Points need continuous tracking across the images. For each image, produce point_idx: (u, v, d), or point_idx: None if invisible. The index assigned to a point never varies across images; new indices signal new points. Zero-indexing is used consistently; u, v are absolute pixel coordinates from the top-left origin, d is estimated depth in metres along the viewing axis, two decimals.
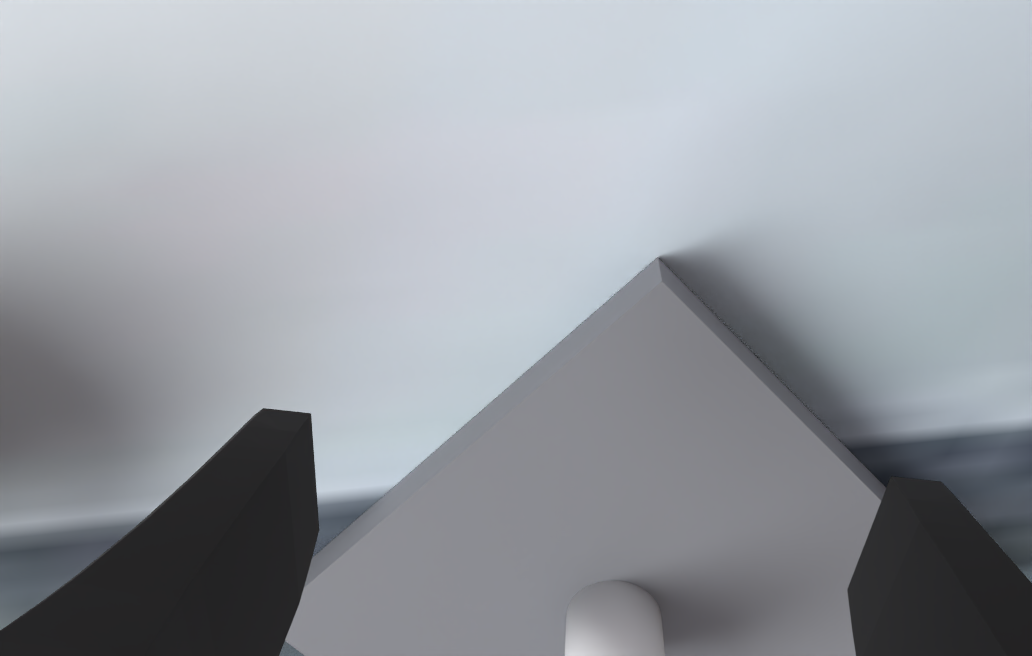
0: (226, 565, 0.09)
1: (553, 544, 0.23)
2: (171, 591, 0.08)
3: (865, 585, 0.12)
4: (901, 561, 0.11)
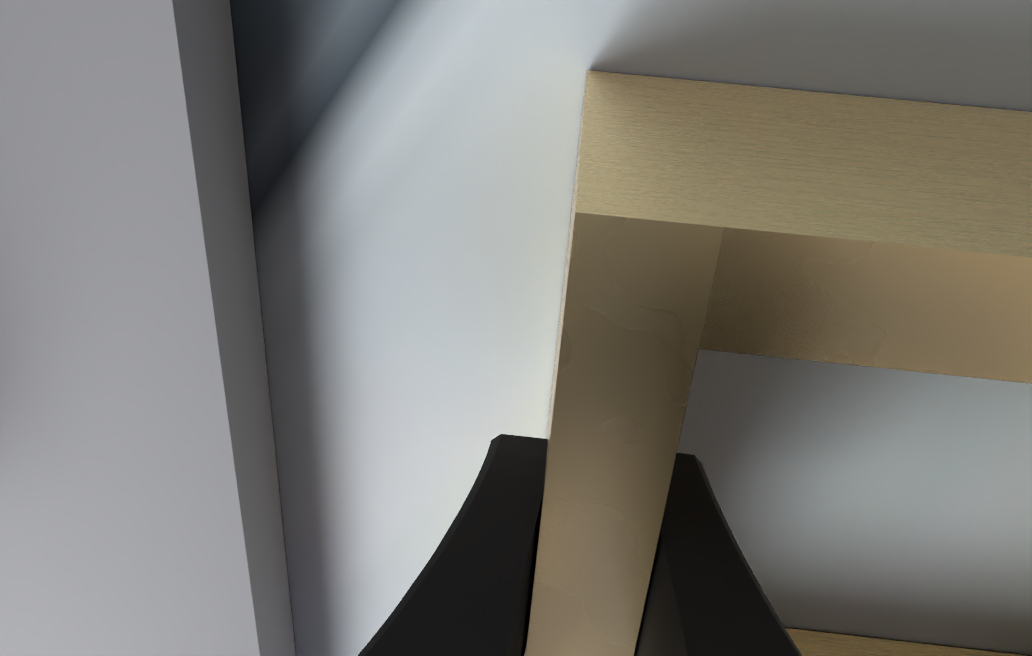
0: (521, 599, 0.09)
1: None
2: (499, 629, 0.08)
3: None
4: None
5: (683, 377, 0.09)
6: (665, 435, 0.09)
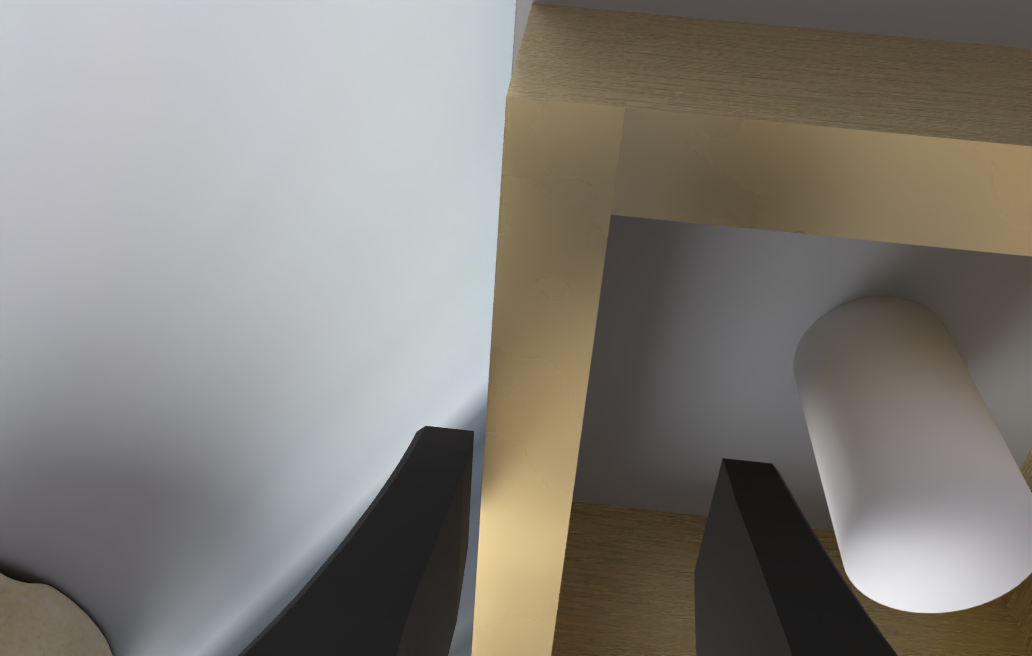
0: (427, 588, 0.09)
1: (708, 318, 0.15)
2: (394, 617, 0.08)
3: (704, 567, 0.12)
4: (724, 541, 0.11)
5: (600, 240, 0.10)
6: (588, 293, 0.11)
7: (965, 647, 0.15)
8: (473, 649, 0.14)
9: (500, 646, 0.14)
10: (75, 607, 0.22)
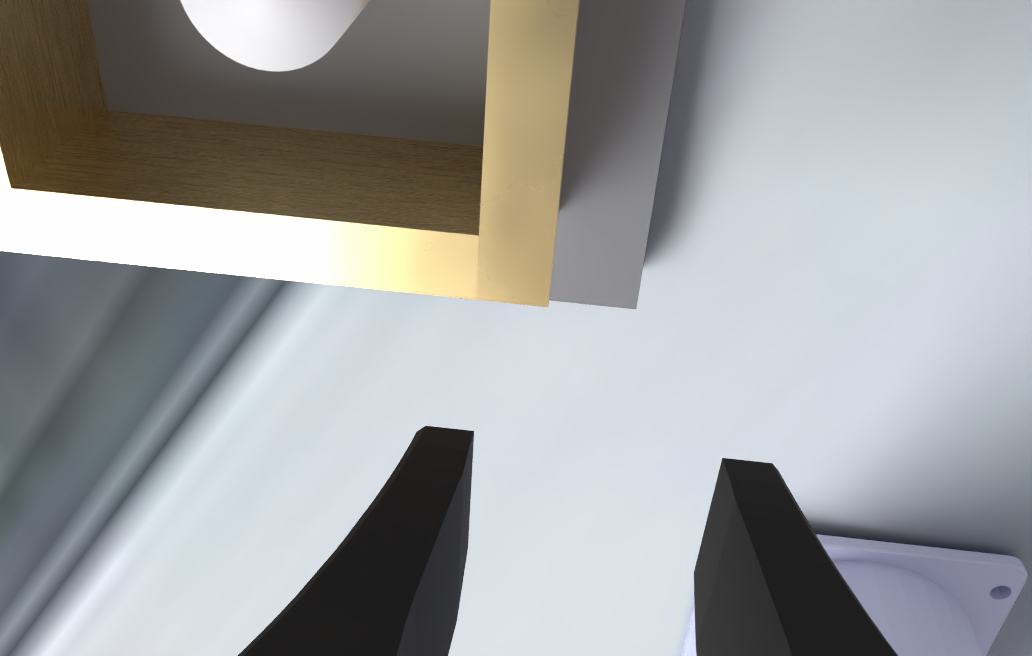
0: (427, 588, 0.09)
1: None
2: (395, 617, 0.08)
3: (703, 567, 0.12)
4: (723, 541, 0.11)
5: None
6: None
7: (428, 196, 0.16)
8: None
9: None
10: None
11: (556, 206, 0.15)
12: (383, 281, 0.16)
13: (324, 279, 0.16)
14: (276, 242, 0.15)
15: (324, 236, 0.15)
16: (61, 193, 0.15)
